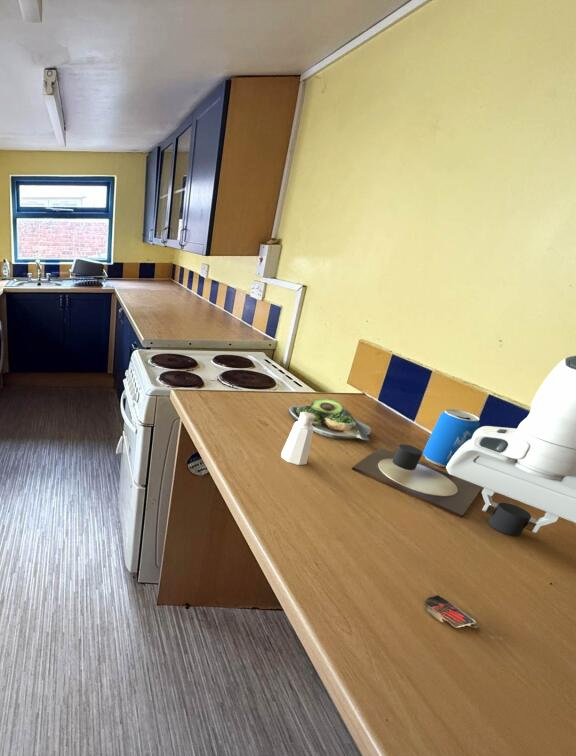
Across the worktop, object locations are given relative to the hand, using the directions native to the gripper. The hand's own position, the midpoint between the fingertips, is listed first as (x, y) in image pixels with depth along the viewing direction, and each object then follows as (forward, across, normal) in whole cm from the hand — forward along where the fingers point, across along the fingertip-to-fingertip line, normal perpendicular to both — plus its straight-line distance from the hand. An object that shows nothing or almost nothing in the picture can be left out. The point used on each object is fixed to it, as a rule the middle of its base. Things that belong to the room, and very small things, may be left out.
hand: (508, 520), depth 71 cm
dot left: (+1, +17, -8) cm, 19 cm away
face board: (+2, +14, -5) cm, 15 cm away
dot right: (+2, 0, 0) cm, 2 cm away
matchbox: (+2, +1, +32) cm, 32 cm away
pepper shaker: (+2, +32, +10) cm, 34 cm away
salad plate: (+2, +36, -16) cm, 39 cm away
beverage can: (+2, +13, -19) cm, 23 cm away
